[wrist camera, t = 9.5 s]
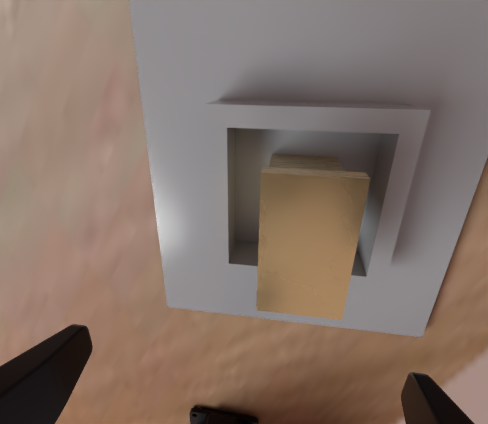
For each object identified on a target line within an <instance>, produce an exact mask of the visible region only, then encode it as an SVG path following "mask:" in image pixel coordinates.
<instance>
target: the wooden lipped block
mask: <svg viewBox="0 0 488 424" xmlns="http://www.w3.org/2000/svg"><path fill="white" fill-rule="evenodd" d="M369 183H370V178H369V177H368V175H367V174H366V172H348V171H345V170H344V168H343V167H342V165H341V163H340V161H339V159H338V157H323V156H301V155H280V154H272V156H271V160H270V164H269V167H263V169H262V172H261V189H260V217H259V245H258V273H257V301H256V310H258V311H267V312H275V313H284V314H293V315H301V316H310V317H319V318H327V319H336V320H342V318H343V313H344V308H345V303H346V298H347V293H348V288H349V283H350V278H351V273H352V268H353V263H354V258H355V253H356V248H357V243H358V238H359V233H360V228H361V223H362V218H363V213H364V208H365V203H366V198H367V193H368V188H369Z"/></svg>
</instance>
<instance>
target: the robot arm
mask: <svg viewBox="0 0 488 424" xmlns="http://www.w3.org/2000/svg"><path fill="white" fill-rule="evenodd" d="M91 352H92V341H91V337H90V334H89V330H88V328H87V327H86V326H84V325H77V324H73V325H70V326H68V327H67V328H65V329H63V330H62V331H60V332H58V333H56V334H55V335H53V336H51V337H50V338H48V339H46V340H44V341H43V342H41V343H39V344H38V345H36V346H34V347H32V348H31V349H29V350H27V351H26V352H24V353H22V354H21V355H19V356H17V357H15V358H14V359H12V360H10V361H9V362H7V363H5V364H3V365H2V366H0V424H55V422H56V421H57V419H58V417H59V416H60V414H61V412H62V410H63V409H64V407H65V405H66V403H67V401H68V399H69V397H70V395H71V393H72V391H73V389H74V387H75V385H76V383H77V381H78V379H79V377H80V375H81V373H82V371H83V369H84V367H85V365H86V363H87V361H88V359H89V357H90V355H91ZM401 401H402V407H403V412H404V417H405V422H406V424H474V423H473V422H472V421H471V420H470V419H469V418H468V416H467V415H466V414H464V412H463V411H462V410H461V409H460V408H459V407H458V406H457V405H456V404H455V403H454V402H453V401H452V400H451V399H450V397H448V396H447V394H446V393H445V392H444V391H443V390H442V389H441V388H440V387H439V386H438V385H437V384H436V383H435V382H434V381H433V380H432V378H430V377H429V376H428V375H426V374H421V373H414V372H411V373H409V375H408V377H407V379H406V382H405V385H404V387H403V390H402V393H401ZM190 423H191V424H258V419H257V418H255V417H250V416H243V415H237V414H231V413H225V412H219V411H213V410H207V409H200V408H192V409H191V411H190Z"/></svg>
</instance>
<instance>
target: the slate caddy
mask: <svg viewBox="0 0 488 424" xmlns="http://www.w3.org/2000/svg"><path fill="white" fill-rule="evenodd" d="M129 6H130V14H131V22H132V30H133V38H134V45H135V53H136V61H137V69H138V77H139V85H140V93H141V101H142V109H143V117H144V125H145V133H146V140H147V148H148V156H149V164H150V172H151V180H152V188H153V196H154V204H155V212H156V220H157V228H158V235H159V243H160V251H161V259H162V267H163V275H164V283H165V291H166V299H167V307H172V308H180V309H189V310H197V311H205V312H214V313H222V314H231V315H239V316H247V317H256V318H264V319H273V320H281V321H289V322H298V323H306V324H315V325H323V326H332V327H340V328H348V329H357V330H365V331H374V332H382V333H390V334H399V335H407V336H416V337H422V336H423V333H424V331H425V328H426V325H427V322H428V320H429V317H430V314H431V311H432V309H433V306H434V303H435V300H436V298H437V295H438V292H439V289H440V287H441V284H442V281H443V279H444V276H445V273H446V270H447V268H448V265H449V262H450V259H451V257H452V254H453V251H454V248H455V246H456V243H457V240H458V237H459V235H460V232H461V229H462V226H463V224H464V221H465V218H466V215H467V213H468V210H469V207H470V204H471V202H472V199H473V196H474V193H475V191H476V188H477V185H478V182H479V180H480V177H481V174H482V171H483V169H484V166H485V163H486V160H487V158H488V0H129ZM272 154H280V155H301V156H323V157H338V159H339V161H340V163H341V165H342V167H343V168H344V170H345V171H348V172H366V174H367V175H368V177H369V178H370V183H369V188H368V193H367V198H366V203H365V208H364V213H363V218H362V223H361V228H360V233H359V238H358V243H357V248H356V253H355V258H354V263H353V268H352V273H351V278H350V283H349V288H348V293H347V298H346V303H345V308H344V313H343V318H342V320H336V319H327V318H319V317H310V316H301V315H293V314H284V313H275V312H267V311H258V310H256V301H257V273H258V245H259V217H260V189H261V172H262V169H263V167H269V164H270V160H271V156H272Z"/></svg>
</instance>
